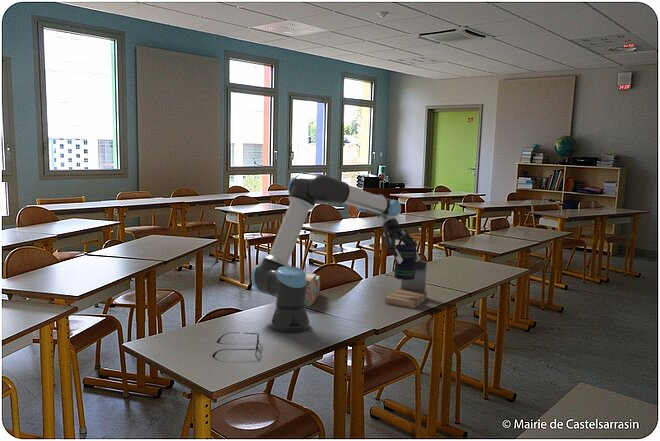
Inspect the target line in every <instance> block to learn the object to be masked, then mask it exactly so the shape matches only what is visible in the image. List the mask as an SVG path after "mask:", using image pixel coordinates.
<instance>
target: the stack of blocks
mask: <svg viewBox="0 0 660 441" xmlns="http://www.w3.org/2000/svg"><path fill="white" fill-rule="evenodd" d="M305 274H306V303H305V307H311V306H312V304H313V303H315V300H317V298H318V297H320V295H321V294H320V291H321V277H320V275H317V274H316V273H305Z"/></svg>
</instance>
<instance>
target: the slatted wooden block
mask: <svg viewBox="0 0 660 441" xmlns="http://www.w3.org/2000/svg"><path fill="white" fill-rule="evenodd" d="M384 298H385V304H386V305H391V306H395V307H396V306H397V307H403V308H408V309H416V308H417V307H418V306H420V305H421V304H422V303H423V302H424V301H425V300H427V299H428V291H425V292H419V291H412V290H406V289H401V287H399V288H398V289H396V290H394V291H393V292H392V293H390V294H389V295H386V296H385V297H384Z"/></svg>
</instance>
